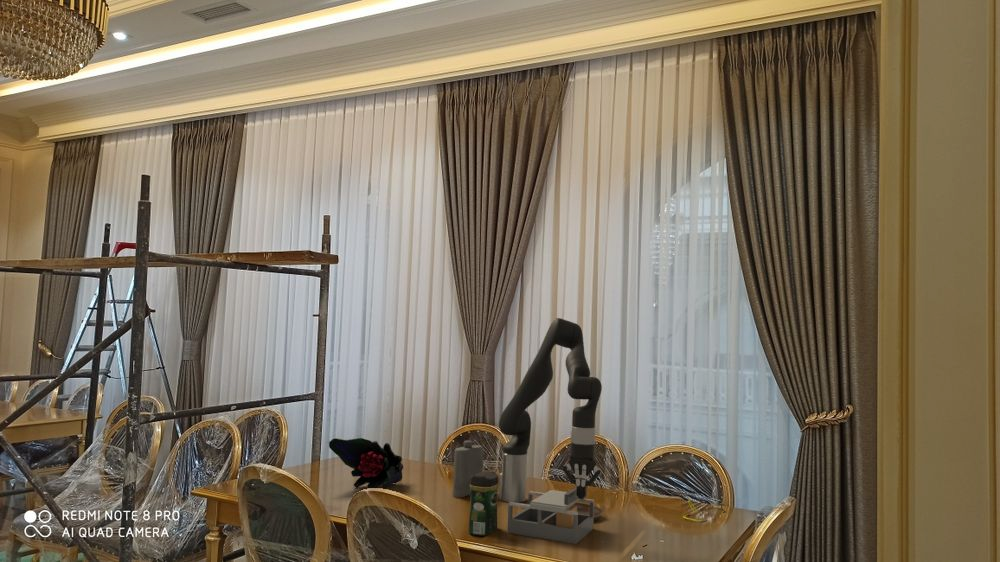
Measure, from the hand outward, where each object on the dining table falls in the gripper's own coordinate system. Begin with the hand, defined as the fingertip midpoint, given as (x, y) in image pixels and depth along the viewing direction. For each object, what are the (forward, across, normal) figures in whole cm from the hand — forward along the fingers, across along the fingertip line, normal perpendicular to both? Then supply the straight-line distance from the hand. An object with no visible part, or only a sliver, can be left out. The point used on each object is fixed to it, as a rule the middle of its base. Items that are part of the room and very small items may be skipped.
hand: (581, 498), depth 214 cm
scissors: (+13, -30, -51) cm, 61 cm away
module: (+11, +4, 0) cm, 12 cm away
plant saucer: (+13, +9, -22) cm, 27 cm away
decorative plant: (+12, +90, -22) cm, 94 cm away
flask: (+12, +55, -33) cm, 66 cm away
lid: (+2, +8, 0) cm, 8 cm away
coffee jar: (+12, +28, +10) cm, 33 cm away
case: (+12, +9, 0) cm, 15 cm away
